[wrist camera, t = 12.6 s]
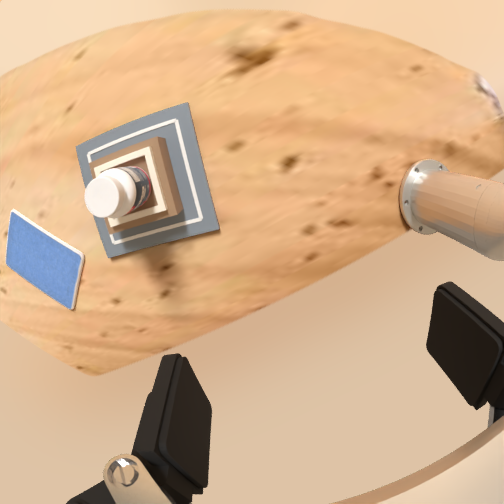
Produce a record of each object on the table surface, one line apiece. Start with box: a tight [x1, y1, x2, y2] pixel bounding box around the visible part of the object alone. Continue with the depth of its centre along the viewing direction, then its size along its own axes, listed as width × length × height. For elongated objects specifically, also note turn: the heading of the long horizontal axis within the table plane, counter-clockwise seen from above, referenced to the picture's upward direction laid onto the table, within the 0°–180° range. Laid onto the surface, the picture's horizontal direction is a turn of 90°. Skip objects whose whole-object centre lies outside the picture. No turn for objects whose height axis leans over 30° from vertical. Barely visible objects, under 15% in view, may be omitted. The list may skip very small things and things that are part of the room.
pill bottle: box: [85, 166, 151, 218], centre depth 27 cm, size 5×5×9 cm
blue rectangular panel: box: [6, 209, 85, 310], centre depth 38 cm, size 19×13×1 cm, turn 62°
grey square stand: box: [76, 102, 220, 258], centre depth 33 cm, size 18×18×6 cm
